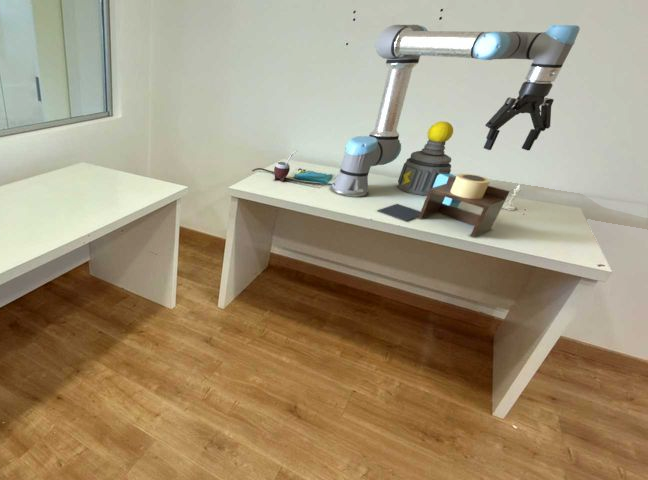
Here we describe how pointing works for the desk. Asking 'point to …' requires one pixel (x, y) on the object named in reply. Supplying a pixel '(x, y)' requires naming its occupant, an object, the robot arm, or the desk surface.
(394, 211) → the desk mat
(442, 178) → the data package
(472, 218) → the desk shelf
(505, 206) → the chess piece
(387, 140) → the robot arm
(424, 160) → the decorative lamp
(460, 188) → the tape roll
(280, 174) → the mate gourd
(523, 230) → the desk surface
